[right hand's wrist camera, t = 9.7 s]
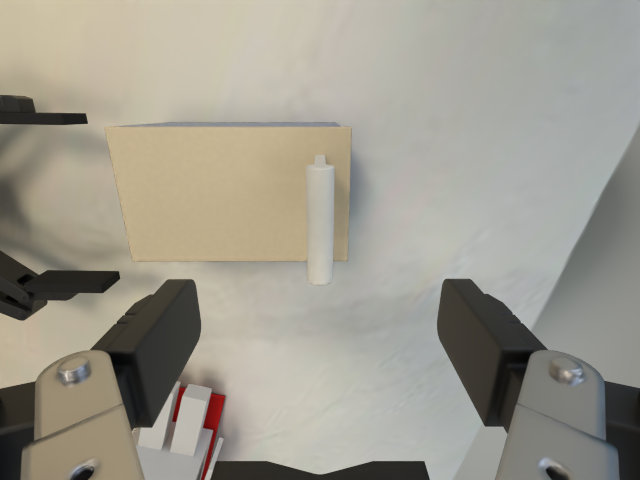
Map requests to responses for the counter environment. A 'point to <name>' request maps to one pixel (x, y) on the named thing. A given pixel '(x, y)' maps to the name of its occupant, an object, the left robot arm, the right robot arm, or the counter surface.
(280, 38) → the counter surface
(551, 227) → the counter surface
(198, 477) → the toy
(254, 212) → the lid
